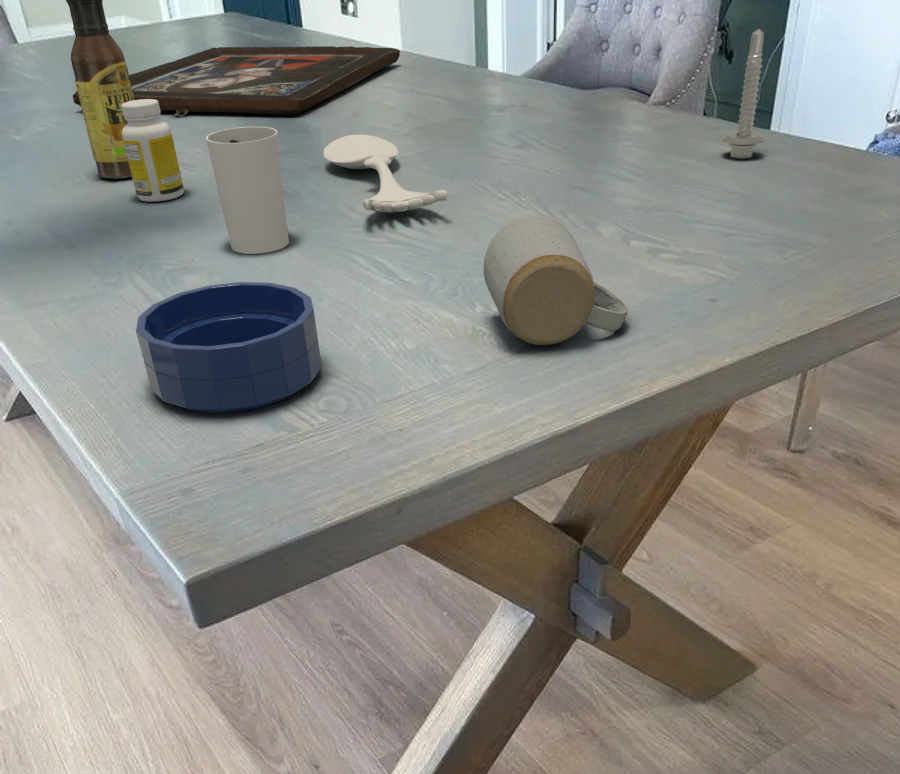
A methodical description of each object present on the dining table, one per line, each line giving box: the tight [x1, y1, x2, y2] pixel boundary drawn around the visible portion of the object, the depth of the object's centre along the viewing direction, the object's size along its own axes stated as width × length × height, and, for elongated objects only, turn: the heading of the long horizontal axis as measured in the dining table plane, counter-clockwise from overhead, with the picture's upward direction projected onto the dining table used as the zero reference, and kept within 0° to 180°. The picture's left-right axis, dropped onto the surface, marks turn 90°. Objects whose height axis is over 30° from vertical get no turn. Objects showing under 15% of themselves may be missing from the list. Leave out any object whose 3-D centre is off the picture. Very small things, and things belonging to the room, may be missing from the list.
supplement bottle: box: [121, 99, 185, 203], centre depth 106 cm, size 5×5×10 cm
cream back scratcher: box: [323, 134, 449, 213], centre depth 106 cm, size 9×32×4 cm, turn 15°
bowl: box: [135, 281, 323, 413], centre depth 67 cm, size 12×12×5 cm
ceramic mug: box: [483, 214, 629, 346], centre depth 71 cm, size 11×8×8 cm
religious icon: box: [72, 45, 401, 116], centre depth 159 cm, size 40×45×3 cm
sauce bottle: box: [65, 0, 134, 179], centre depth 111 cm, size 6×6×20 cm
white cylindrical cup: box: [205, 126, 290, 255], centre depth 90 cm, size 7×7×10 cm
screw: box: [721, 28, 766, 160], centre depth 107 cm, size 13×5×5 cm
